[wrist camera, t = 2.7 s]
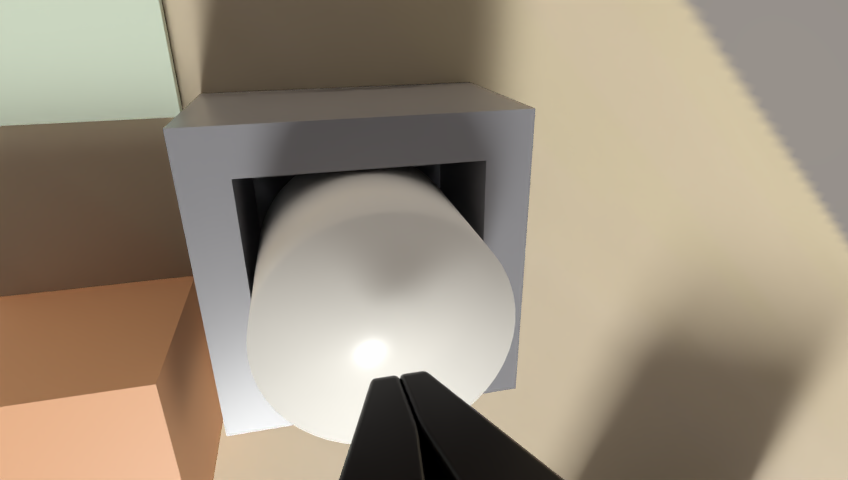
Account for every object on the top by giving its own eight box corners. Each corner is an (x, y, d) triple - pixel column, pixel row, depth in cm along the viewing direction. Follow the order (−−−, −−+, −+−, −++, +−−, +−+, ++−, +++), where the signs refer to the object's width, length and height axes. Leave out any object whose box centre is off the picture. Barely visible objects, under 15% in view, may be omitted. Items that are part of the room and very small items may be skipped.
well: (242, 331, 16) (226, 436, 12) (201, 93, 13) (163, 128, 9) (464, 303, 17) (515, 388, 14) (469, 82, 15) (535, 108, 11)
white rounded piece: (272, 344, 13) (266, 465, 10) (245, 159, 12) (224, 226, 8) (454, 320, 14) (508, 421, 11) (457, 145, 13) (523, 199, 9)
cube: (51, 440, 16) (-41, 604, 12) (-4, 295, 14) (-140, 427, 10) (224, 412, 17) (200, 554, 13) (195, 274, 15) (155, 384, 11)
